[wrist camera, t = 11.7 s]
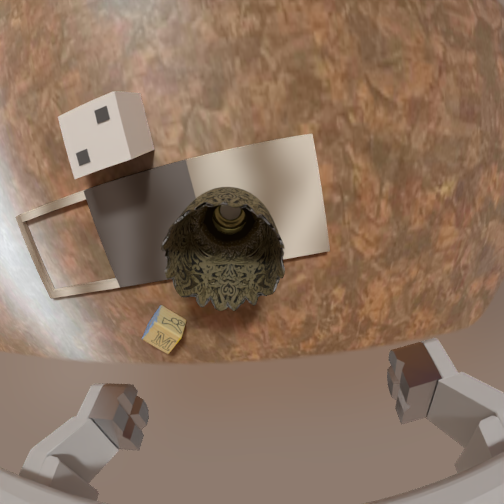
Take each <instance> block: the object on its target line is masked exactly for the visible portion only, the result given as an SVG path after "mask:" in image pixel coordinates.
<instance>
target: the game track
mask: <svg viewBox="0 0 504 504" xmlns="http://www.w3.org/2000/svg"><path fill="white" fill-rule="evenodd" d="M219 187H235V188H239V189H243V190H245V191H248V192H249V193H251V194H253V195H254V196H256V197H257V198H258V199H259V200H260V201H261V202H262V203H263V204H264V205H265V207H266V208H267V209H268V211H269V213H270V214H271V216H272V218H273V220H274V223H275V225H276V227H277V230H278V232H279V235H280V237H281V239H282V241H283V244H284V248H285V249H283V251H284V256H283V259H289V258H295V257H300V256H306V255H311V254H317V253H322V252H327V251H330V248H329V240H328V232H327V224H326V216H325V209H324V202H323V195H322V189H321V182H320V176H319V169H318V163H317V157H316V152H315V146H314V140H313V135H312V134H306V135H299V136H293V137H288V138H282V139H277V140H271V141H266V142H261V143H256V144H251V145H246V146H241V147H237V148H232V149H227V150H223V151H219V152H214V153H210V154H206V155H202V156H198V157H194V158H190V159H186V160H182V161H178V162H174V163H171V164H167V165H163V166H160V167H156V168H153V169H149V170H146V171H142V172H139V173H136V174H132V175H129V176H126V177H123V178H119V179H116V180H113V181H110V182H107V183H104V184H101V185H98V186H95V187H92V188H89V189H86V190H83V191H80V192H78V193H75V194H72V195H69V196H66V197H64V198H61V199H58V200H56V201H53V202H51V203H48V204H45V205H43V206H40V207H38V208H35V209H33V210H30V211H28V212H25V213H23V214H21V215H18V216H17V217H16V219H17V222H18V225H19V228H20V230H21V233H22V235H23V238H24V240H25V243H26V245H27V248H28V250H29V253H30V255H31V257H32V260H33V262H34V264H35V266H36V269H37V271H38V273H39V275H40V277H41V279H42V282H43V284H44V286H45V288H46V290H47V292H48V294H49V296H50V298H57V297H64V296H70V295H76V294H83V293H89V292H95V291H101V290H108V289H114V288H120V287H126V286H132V285H138V284H144V283H150V282H156V281H162V280H168V279H167V278H166V275H165V268H166V266H167V259H166V258H165V253H166V251H165V252H163V251H161V245H162V243H163V241H164V239H165V237H166V235H167V232H168V229H169V228H170V226H171V225H172V224H173V223H174V222H175V221H176V220H177V219H178V217H179V216H180V215H181V214H182V212H183V211H184V210H185V209H186V208H187V207H188V205H189V204H190V203H191V202H192V201H193V200H195V199H196V198H197V197H198V196H200V195H201V194H203V193H205V192H207V191H209V190H212V189H215V188H219ZM83 200H87V203H88V206H89V209H90V212H91V215H92V217H93V220H94V223H95V226H96V229H97V231H98V234H99V237H100V239H101V242H102V245H103V247H104V250H105V252H106V255H107V257H108V260H109V262H110V265H111V267H112V270H113V272H114V274H115V277H116V278H113V279H108V280H102V281H97V282H91V283H85V284H80V285H74V286H69V287H63V288H57V289H55V288H54V286H53V284H52V282H51V280H50V277H49V275H48V273H47V271H46V269H45V266H44V264H43V262H42V260H41V257H40V255H39V253H38V250H37V248H36V245H35V243H34V240H33V238H32V235H31V233H30V230H29V228H28V225H27V222H26V221H27V220H30V219H32V218H35V217H38V216H40V215H43V214H46V213H48V212H51V211H54V210H57V209H59V208H62V207H65V206H68V205H71V204H74V203H77V202H80V201H83ZM220 212H221V215H222V216H223V217H224V218H225V219H228V220H233V219H236V218H237V217H238V216H239V215H240V212H241V209H240V208H233V207H231V206H229V205H222V206H221V208H220Z"/></svg>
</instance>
